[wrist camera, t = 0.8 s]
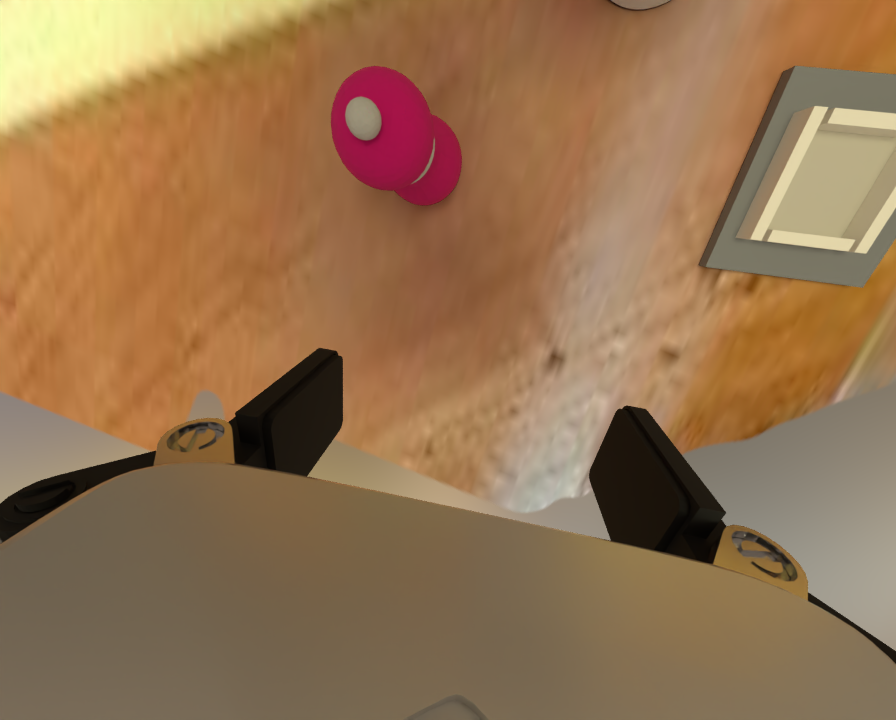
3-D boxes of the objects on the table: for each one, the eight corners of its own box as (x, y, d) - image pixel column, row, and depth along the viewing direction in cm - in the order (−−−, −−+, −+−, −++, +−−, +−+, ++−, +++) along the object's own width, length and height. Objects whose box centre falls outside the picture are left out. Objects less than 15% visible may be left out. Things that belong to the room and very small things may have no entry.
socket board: (783, 71, 27) (817, 54, 24) (978, 88, 26) (1038, 73, 23) (698, 265, 34) (717, 269, 31) (850, 285, 33) (884, 291, 30)
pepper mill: (387, 187, 35) (273, 159, 17) (412, 112, 32) (303, -23, 14) (447, 218, 35) (399, 222, 17) (477, 146, 32) (456, 60, 14)
